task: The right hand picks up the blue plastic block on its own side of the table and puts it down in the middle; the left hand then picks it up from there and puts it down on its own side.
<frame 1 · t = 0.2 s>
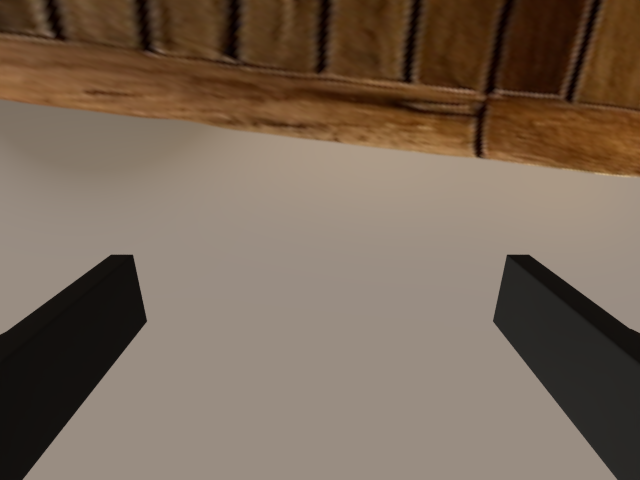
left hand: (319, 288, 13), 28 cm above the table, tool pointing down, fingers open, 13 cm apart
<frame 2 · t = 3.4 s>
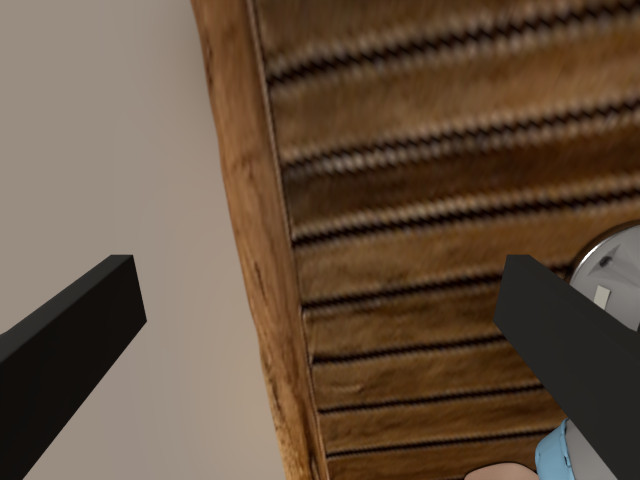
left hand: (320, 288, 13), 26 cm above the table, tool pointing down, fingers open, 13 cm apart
when the right hand's fingers open (4 cm above the table, at t = 11.0 s): block drops 1 cm, on the table.
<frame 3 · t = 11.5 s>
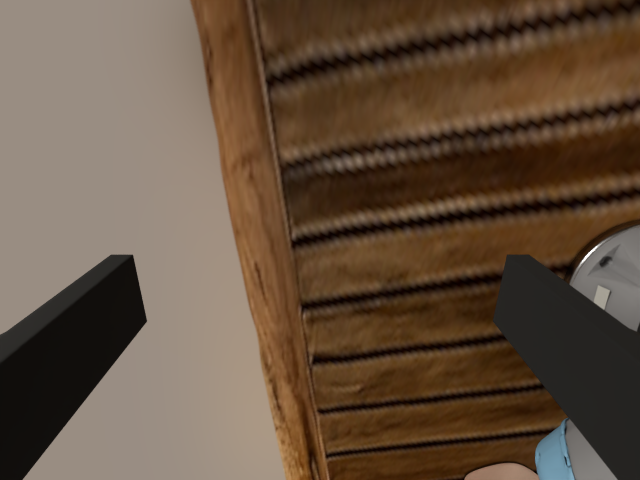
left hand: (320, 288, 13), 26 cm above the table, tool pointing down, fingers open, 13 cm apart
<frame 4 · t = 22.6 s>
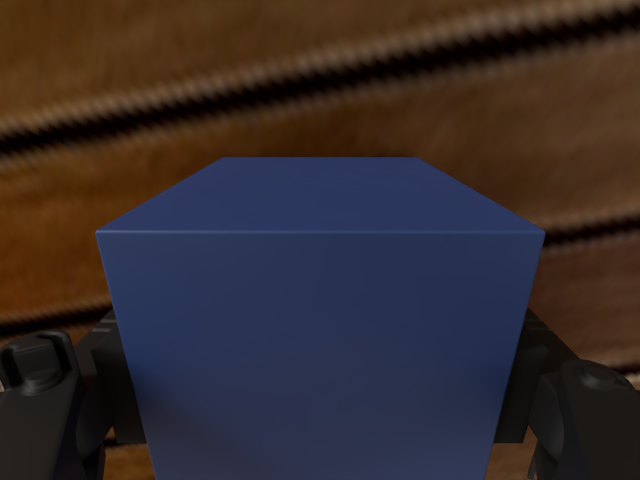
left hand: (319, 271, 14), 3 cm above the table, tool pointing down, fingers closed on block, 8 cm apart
block: (320, 248, 16), on the table, touching left hand
when the left hand's fingers open (4 cm above the table, at t = 27.5 s): block drops 1 cm, on the table.
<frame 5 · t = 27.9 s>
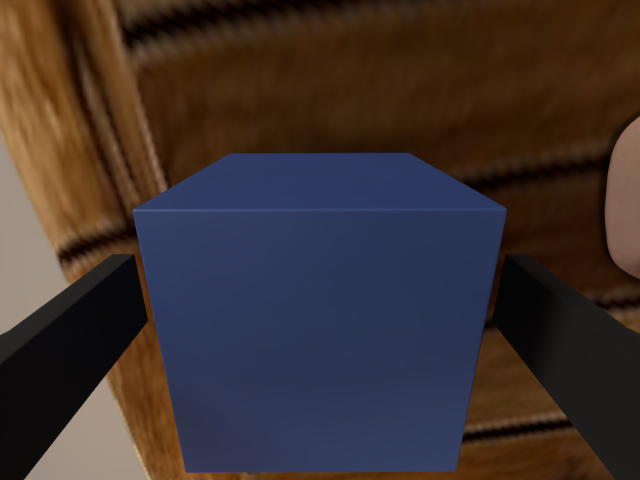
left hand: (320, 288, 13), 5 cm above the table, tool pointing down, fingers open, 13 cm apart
block: (319, 237, 18), on the table
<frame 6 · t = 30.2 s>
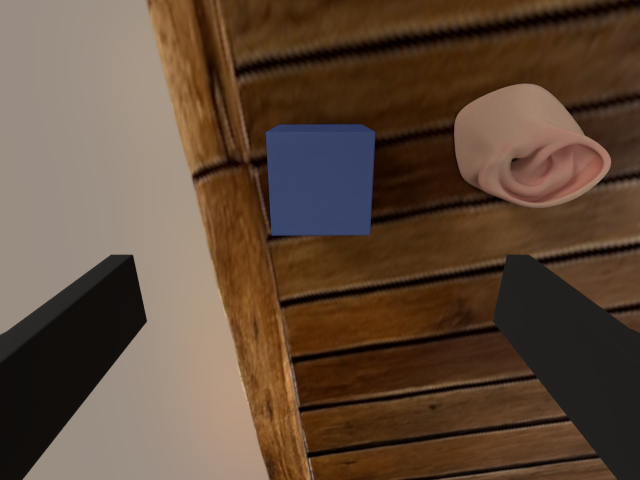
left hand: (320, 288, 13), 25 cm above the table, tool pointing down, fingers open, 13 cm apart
block: (320, 166, 36), on the table
anatomical model: (515, 147, 36), on the table
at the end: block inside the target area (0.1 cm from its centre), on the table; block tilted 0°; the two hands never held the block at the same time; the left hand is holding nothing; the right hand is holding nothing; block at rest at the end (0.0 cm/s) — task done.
